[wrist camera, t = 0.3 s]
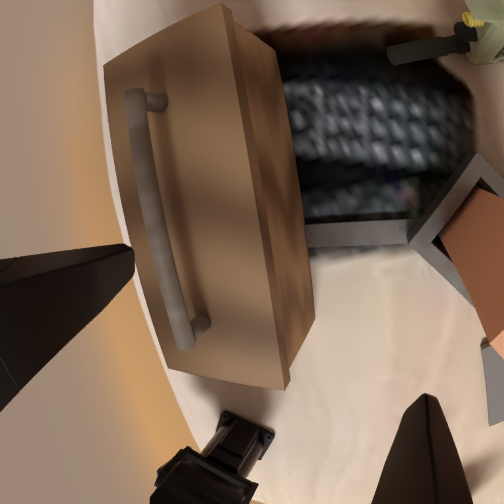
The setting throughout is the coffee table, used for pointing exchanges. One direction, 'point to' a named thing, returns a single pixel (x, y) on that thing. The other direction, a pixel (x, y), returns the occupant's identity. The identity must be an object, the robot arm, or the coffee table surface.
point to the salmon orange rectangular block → (480, 257)
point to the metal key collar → (416, 221)
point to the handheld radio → (462, 37)
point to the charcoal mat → (494, 383)
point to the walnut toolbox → (212, 198)
